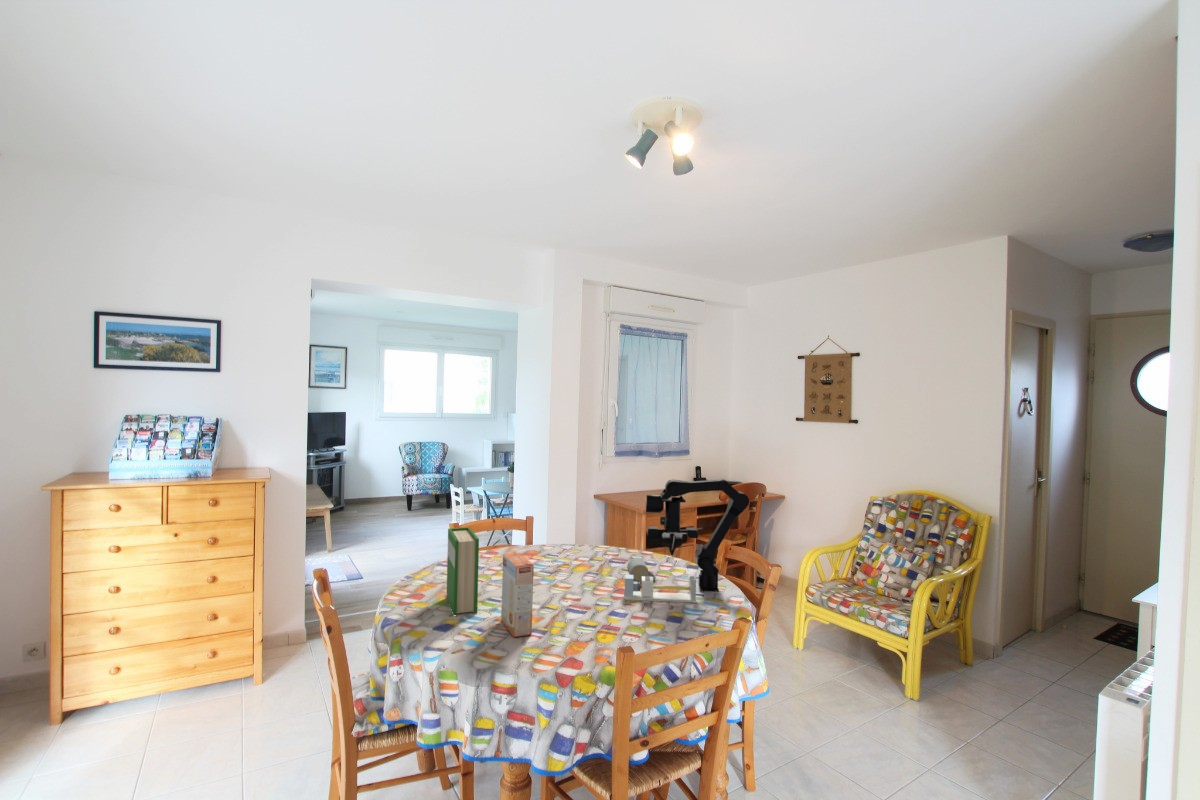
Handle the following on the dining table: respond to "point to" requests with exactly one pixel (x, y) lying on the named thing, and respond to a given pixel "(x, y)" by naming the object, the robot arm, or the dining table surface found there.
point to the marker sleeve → (647, 586)
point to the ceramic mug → (638, 569)
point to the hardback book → (462, 570)
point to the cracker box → (517, 594)
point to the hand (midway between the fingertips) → (671, 554)
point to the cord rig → (657, 596)
